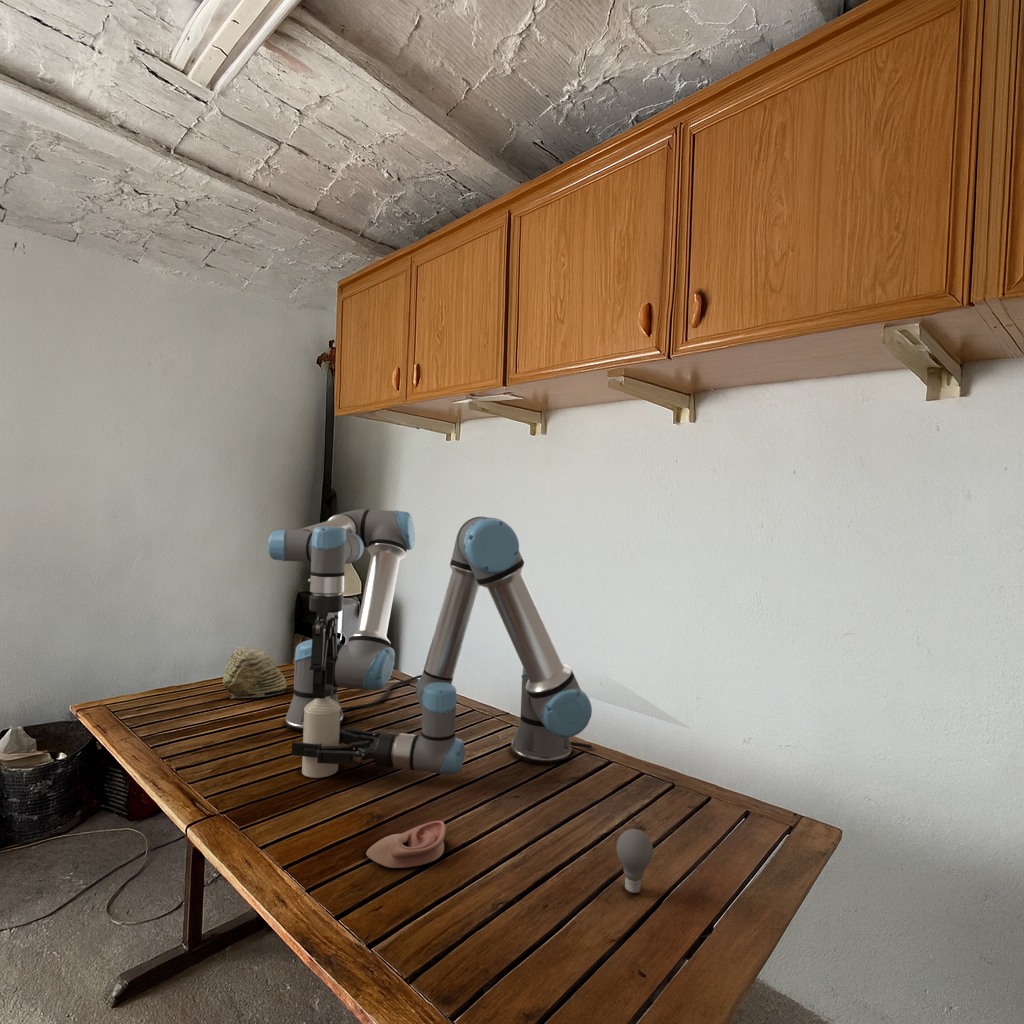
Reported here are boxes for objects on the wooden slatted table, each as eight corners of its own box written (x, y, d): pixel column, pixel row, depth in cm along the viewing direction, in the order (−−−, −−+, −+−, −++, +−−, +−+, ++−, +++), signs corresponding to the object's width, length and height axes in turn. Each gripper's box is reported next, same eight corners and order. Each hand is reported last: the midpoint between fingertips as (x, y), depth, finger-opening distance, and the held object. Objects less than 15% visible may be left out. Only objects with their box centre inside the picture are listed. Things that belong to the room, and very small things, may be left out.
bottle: (345, 768, 148) (348, 687, 148) (320, 780, 141) (323, 696, 141) (319, 760, 152) (322, 681, 152) (293, 772, 145) (297, 689, 145)
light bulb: (610, 879, 108) (613, 822, 108) (644, 879, 109) (647, 822, 109) (619, 902, 102) (622, 840, 102) (655, 901, 103) (658, 840, 103)
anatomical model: (359, 840, 110) (385, 809, 121) (358, 862, 110) (384, 829, 121) (431, 852, 107) (451, 819, 119) (431, 875, 107) (451, 840, 119)
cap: (336, 693, 147) (337, 686, 147) (323, 698, 143) (323, 690, 143) (322, 690, 149) (323, 682, 149) (308, 694, 145) (309, 687, 145)
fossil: (218, 695, 195) (220, 647, 195) (278, 685, 208) (279, 640, 207) (228, 703, 189) (230, 653, 188) (289, 692, 201) (290, 645, 201)
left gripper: (321, 587, 155) (318, 680, 156) (297, 599, 136) (293, 706, 137) (352, 588, 156) (348, 682, 156) (332, 600, 136) (328, 707, 137)
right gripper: (379, 787, 134) (278, 776, 137) (409, 749, 154) (320, 740, 158) (380, 752, 134) (279, 741, 137) (410, 718, 154) (322, 710, 157)
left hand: (322, 693), depth 146 cm, fingers open, 6 cm apart
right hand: (301, 741), depth 147 cm, fingers closed on bottle, 8 cm apart
